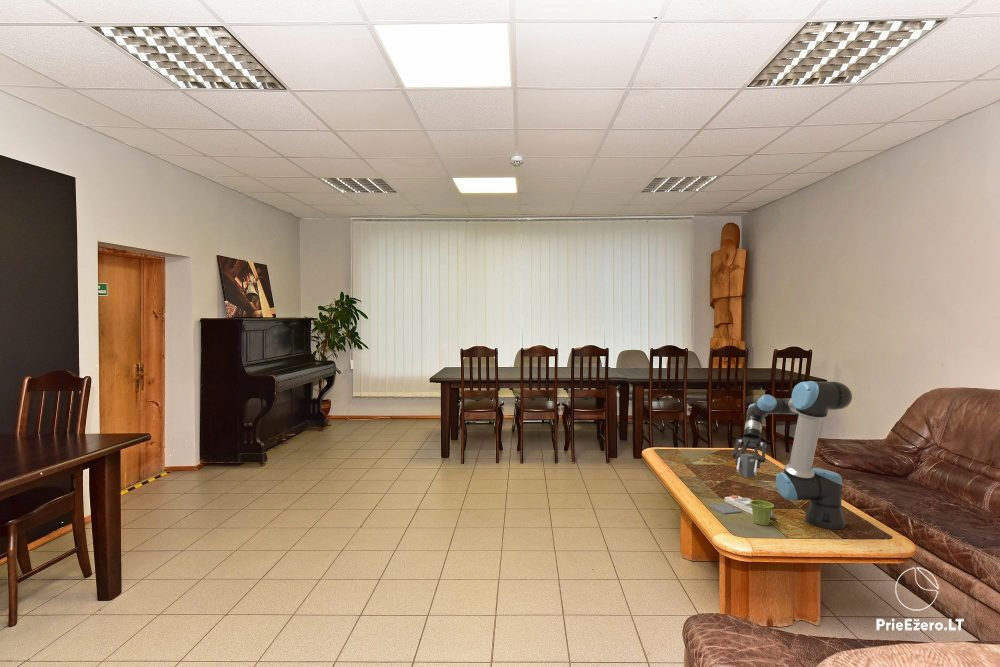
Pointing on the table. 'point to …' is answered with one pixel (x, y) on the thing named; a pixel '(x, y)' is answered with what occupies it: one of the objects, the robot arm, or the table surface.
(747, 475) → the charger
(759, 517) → the plant pot
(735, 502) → the white slab
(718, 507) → the pad
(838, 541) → the table surface
